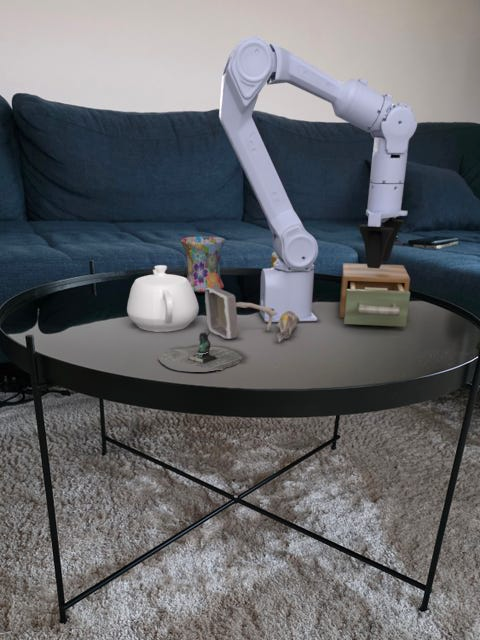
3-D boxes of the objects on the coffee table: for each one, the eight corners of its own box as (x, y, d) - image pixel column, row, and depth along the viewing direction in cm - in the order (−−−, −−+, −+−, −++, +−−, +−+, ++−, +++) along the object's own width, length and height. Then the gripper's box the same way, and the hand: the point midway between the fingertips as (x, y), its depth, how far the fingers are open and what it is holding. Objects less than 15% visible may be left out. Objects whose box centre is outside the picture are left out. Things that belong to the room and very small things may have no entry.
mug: (228, 294, 125) (228, 242, 120) (184, 296, 123) (182, 243, 119) (220, 282, 135) (219, 234, 131) (179, 283, 134) (177, 235, 129)
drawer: (408, 335, 96) (413, 299, 94) (344, 332, 98) (347, 297, 95) (399, 309, 111) (403, 278, 108) (343, 307, 112) (346, 276, 110)
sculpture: (246, 350, 92) (243, 322, 85) (236, 403, 89) (232, 378, 82) (172, 341, 94) (163, 313, 87) (159, 392, 90) (148, 367, 83)
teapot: (124, 311, 112) (119, 256, 108) (188, 307, 115) (187, 254, 110) (132, 343, 94) (127, 279, 90) (208, 338, 97) (207, 275, 93)
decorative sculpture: (297, 327, 103) (299, 285, 100) (307, 344, 95) (310, 298, 91) (205, 328, 102) (204, 285, 99) (206, 345, 93) (206, 299, 90)
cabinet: (404, 320, 107) (410, 278, 104) (340, 317, 109) (343, 276, 106) (398, 303, 118) (403, 265, 115) (340, 301, 120) (343, 263, 117)
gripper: (402, 186, 94) (392, 273, 100) (417, 181, 106) (407, 259, 112) (358, 184, 96) (351, 269, 102) (378, 180, 108) (370, 256, 114)
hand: (378, 264), depth 107 cm, fingers open, 7 cm apart
